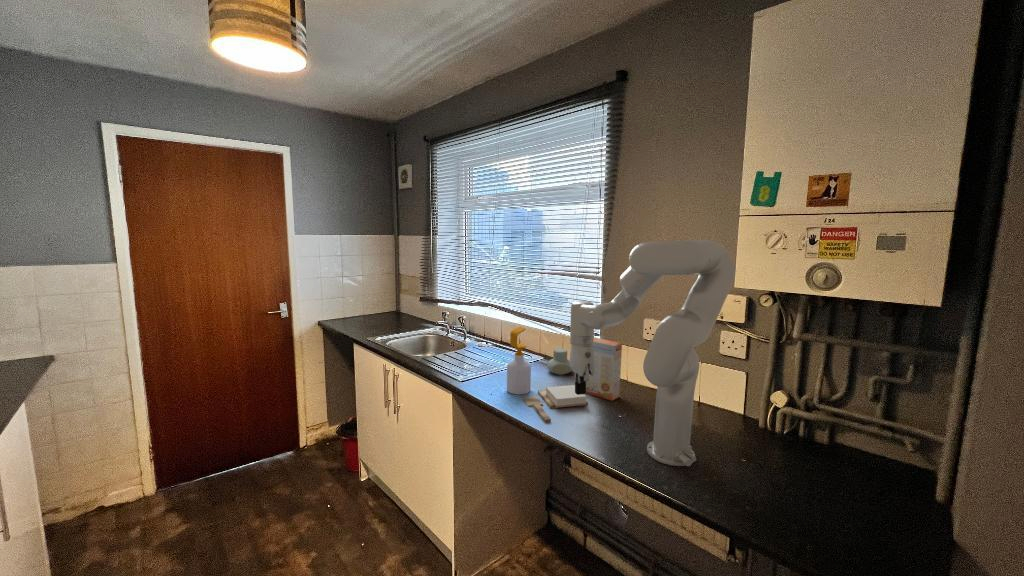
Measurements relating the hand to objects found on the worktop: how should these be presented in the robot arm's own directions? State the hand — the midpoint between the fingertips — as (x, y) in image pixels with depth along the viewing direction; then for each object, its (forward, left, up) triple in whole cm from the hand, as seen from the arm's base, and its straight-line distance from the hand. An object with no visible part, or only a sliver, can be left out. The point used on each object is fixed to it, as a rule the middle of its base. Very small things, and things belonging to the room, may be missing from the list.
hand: (580, 393), depth 140 cm
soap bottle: (+26, +14, -8) cm, 31 cm away
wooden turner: (+8, +12, -8) cm, 17 cm away
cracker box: (+16, -15, -8) cm, 24 cm away
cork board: (+15, 0, -8) cm, 17 cm away
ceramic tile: (+6, 0, -6) cm, 9 cm away
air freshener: (+42, -9, -8) cm, 44 cm away
